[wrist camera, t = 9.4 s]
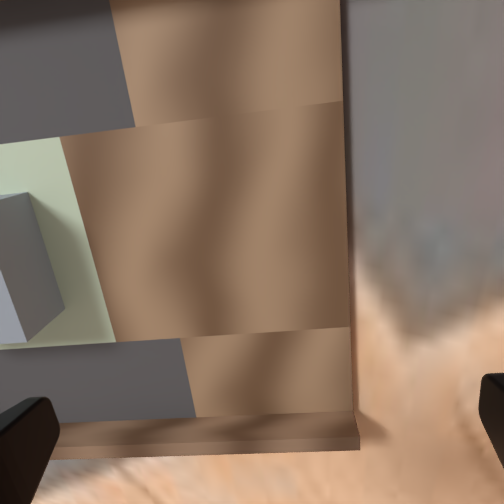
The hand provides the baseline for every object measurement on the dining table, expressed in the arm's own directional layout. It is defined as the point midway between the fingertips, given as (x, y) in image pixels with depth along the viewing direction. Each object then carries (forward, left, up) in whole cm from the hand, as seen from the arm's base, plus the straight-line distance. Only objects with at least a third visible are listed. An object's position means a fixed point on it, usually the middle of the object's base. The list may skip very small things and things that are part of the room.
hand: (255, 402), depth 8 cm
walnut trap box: (+9, 0, -13) cm, 16 cm away
